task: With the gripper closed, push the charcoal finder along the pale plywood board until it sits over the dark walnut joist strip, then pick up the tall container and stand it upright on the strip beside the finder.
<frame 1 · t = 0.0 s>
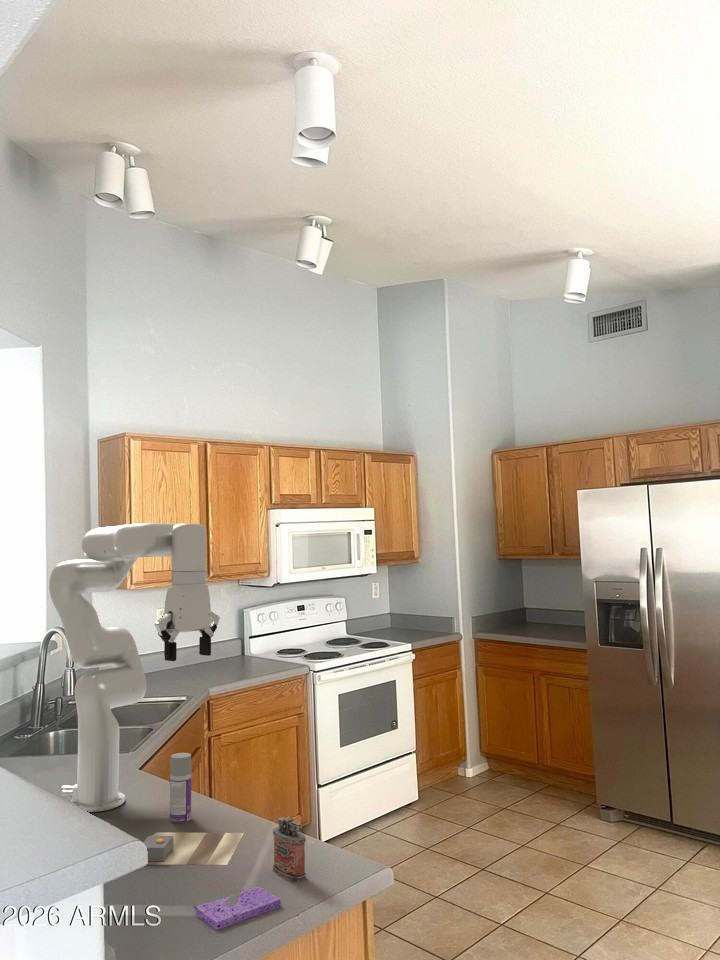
hand: (188, 657, 165), 37 cm above the worktop, tool pointing down, fingers open, 9 cm apart
lighter: (289, 875, 141), on the worktop
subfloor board: (189, 853, 151), on the worktop
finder: (156, 847, 147), point 3 cm above the worktop, slide at 0.0 cm
sponges: (239, 914, 127), on the worktop
container: (180, 825, 167), on the worktop
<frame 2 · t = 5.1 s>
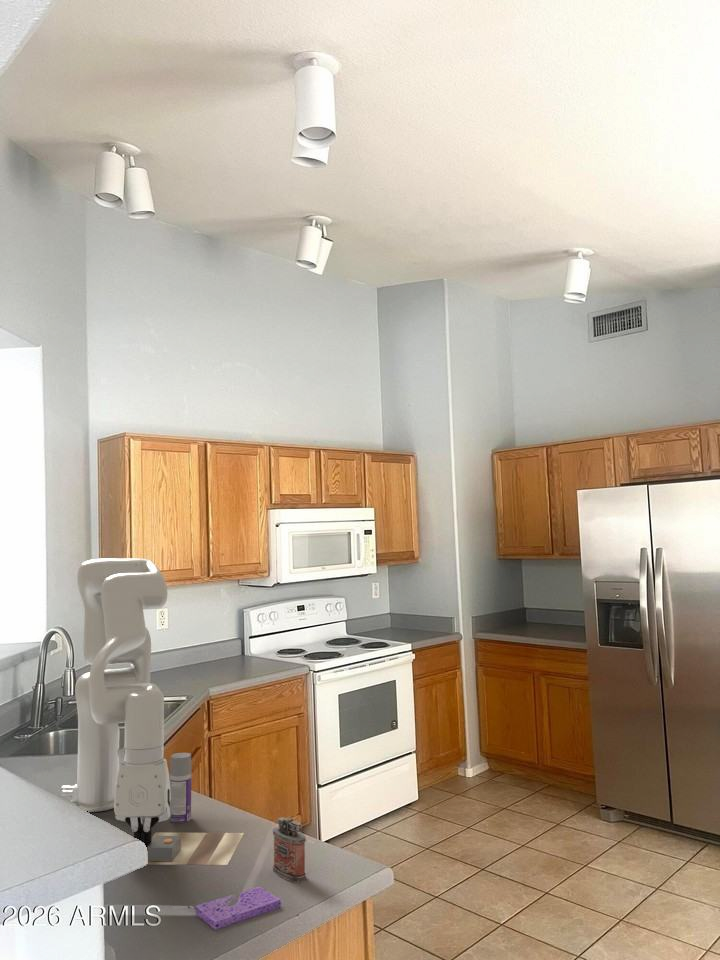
hand: (142, 850, 147), 2 cm above the worktop, tool pointing down, fingers closed
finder: (164, 847, 147), point 3 cm above the worktop, slide at 1.6 cm, touching gripper
everything else where it was.
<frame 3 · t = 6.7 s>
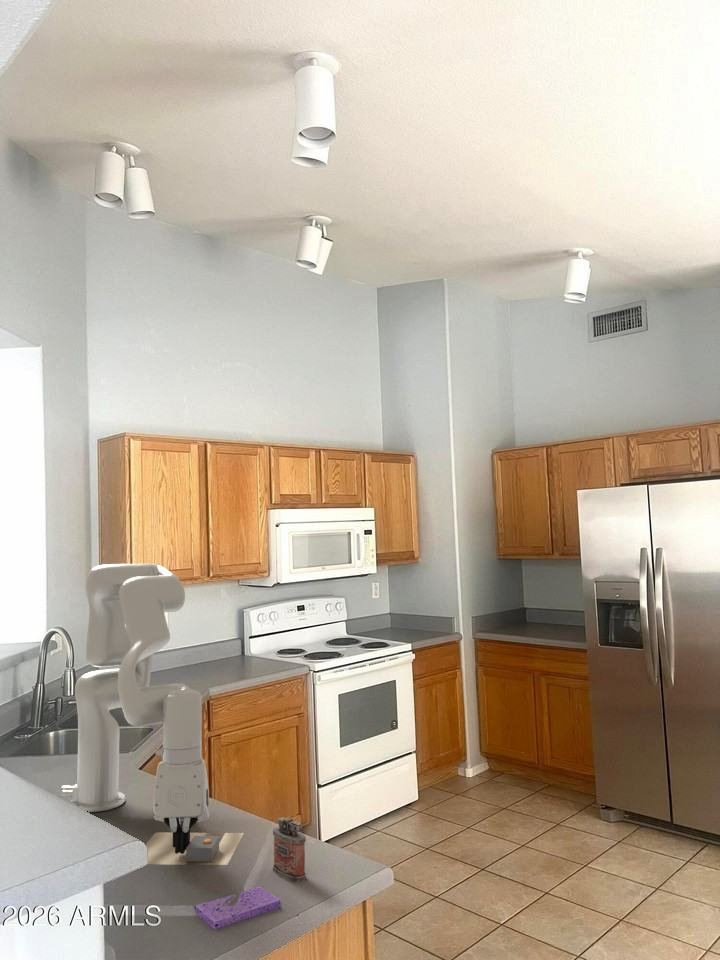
hand: (181, 850, 147), 2 cm above the worktop, tool pointing down, fingers closed
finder: (203, 847, 147), point 3 cm above the worktop, slide at 9.3 cm, touching gripper
everything else where it was.
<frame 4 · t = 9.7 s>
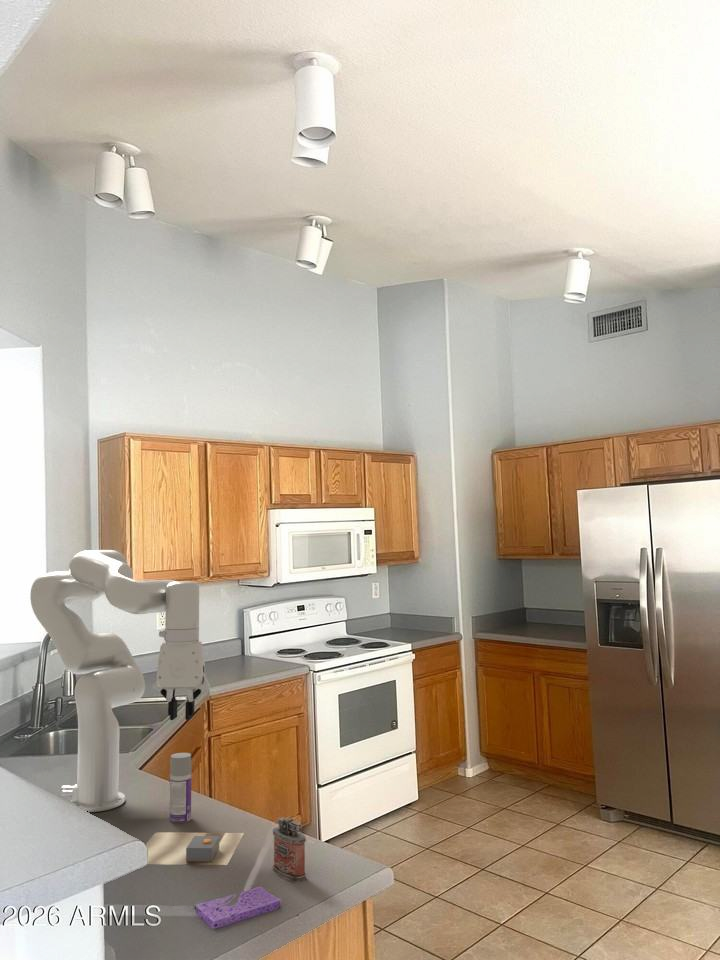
hand: (181, 718, 169), 23 cm above the worktop, tool pointing down, fingers closed
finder: (203, 847, 147), point 3 cm above the worktop, slide at 9.3 cm
everything else where it was.
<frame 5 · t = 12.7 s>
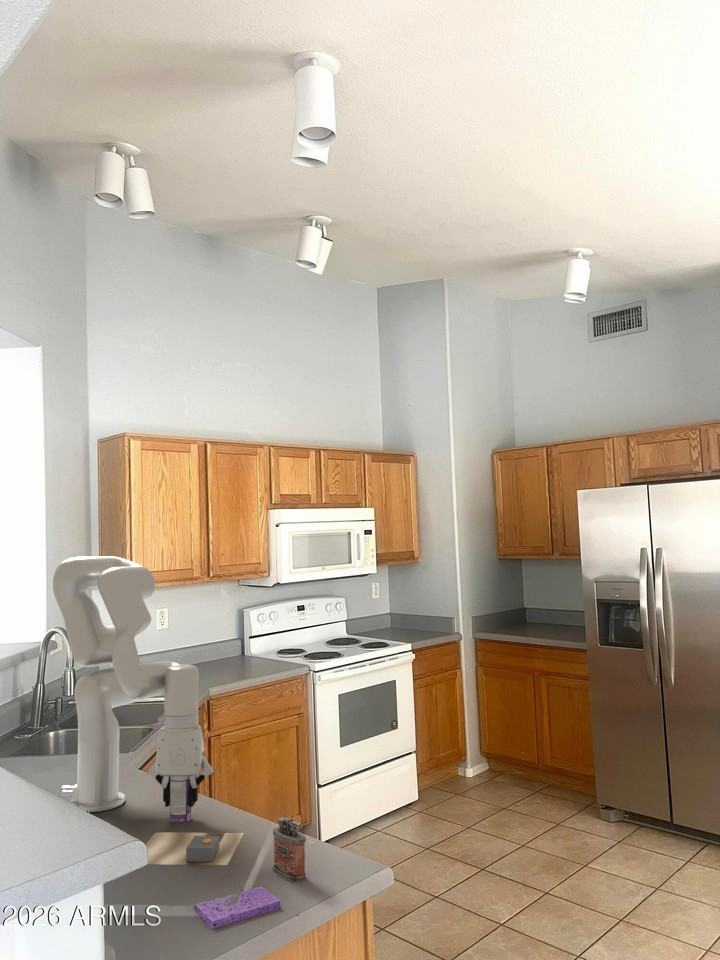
hand: (180, 804, 168), 4 cm above the worktop, tool pointing down, fingers closed on container, 4 cm apart
container: (180, 825, 167), on the worktop, touching gripper
everything else where it was.
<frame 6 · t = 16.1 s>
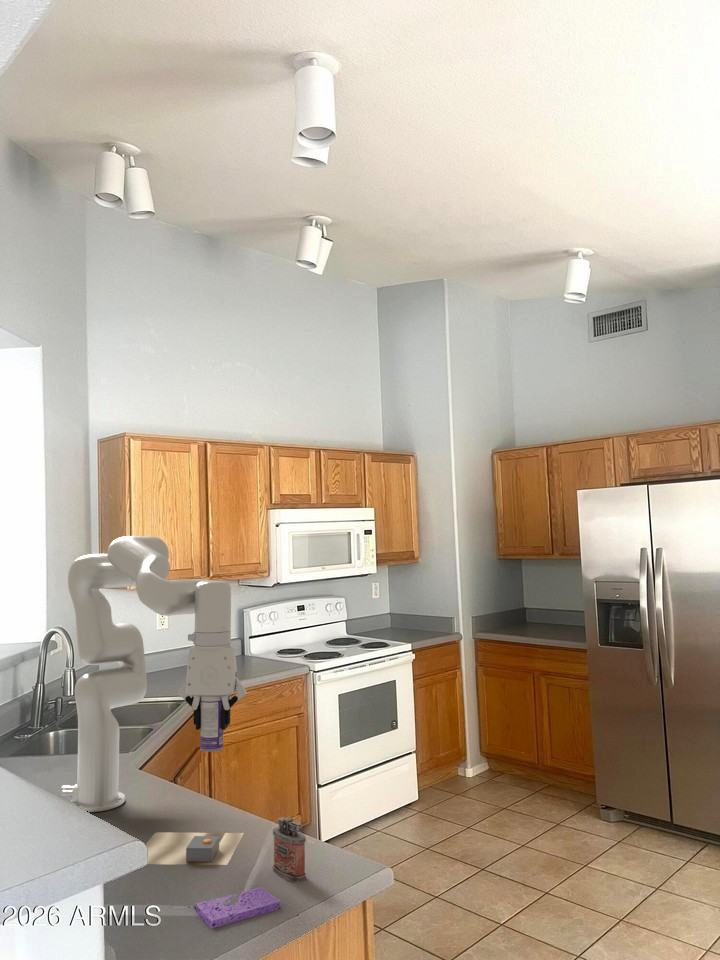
hand: (211, 727, 157), 24 cm above the worktop, tool pointing down, fingers closed on container, 4 cm apart
container: (211, 749, 157), point 19 cm above the worktop, touching gripper
everything else where it was.
when the fingers open (7 cm above the worktop, at t = 19.6 s): container drops 1 cm, resting on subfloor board.
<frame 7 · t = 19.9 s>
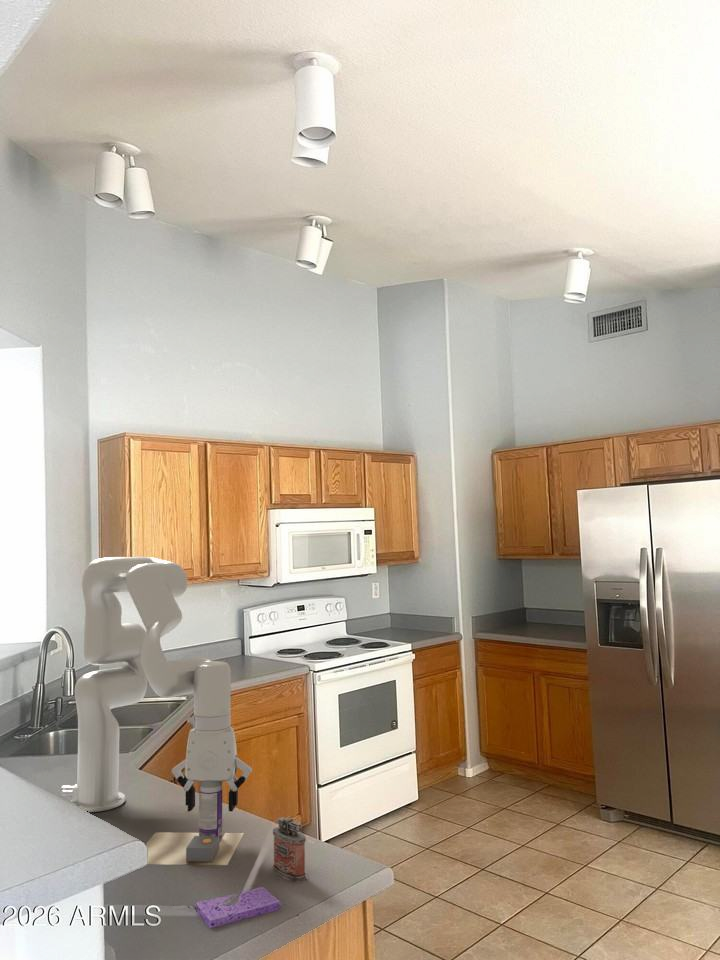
hand: (211, 808, 155), 7 cm above the worktop, tool pointing down, fingers open, 8 cm apart
container: (210, 840, 155), point 1 cm above the worktop, touching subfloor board
everything else where it was.
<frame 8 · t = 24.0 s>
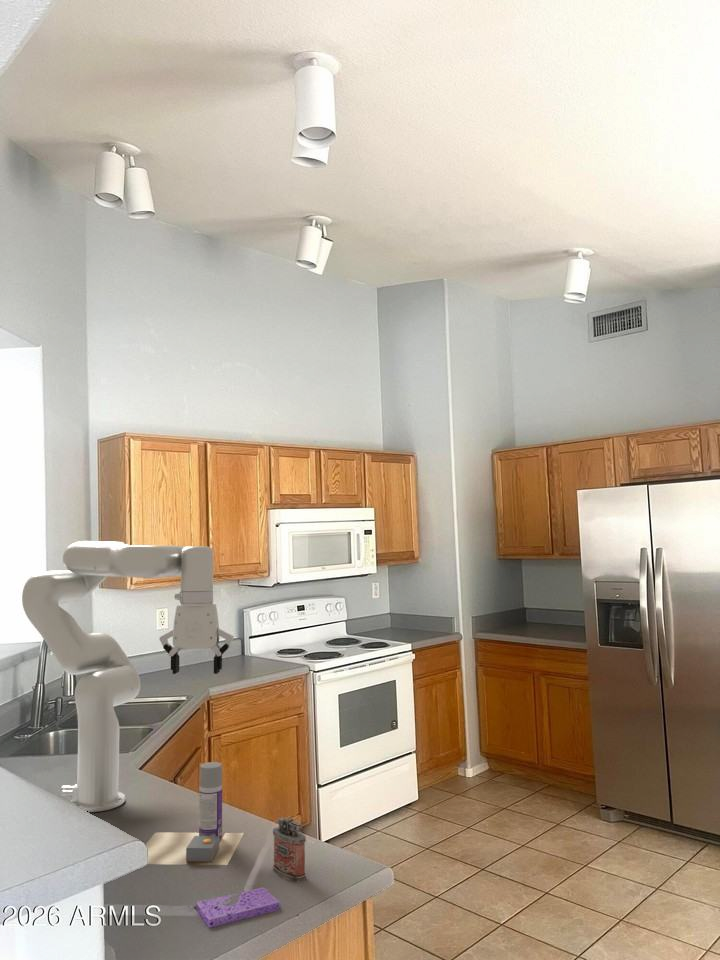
hand: (196, 672, 175), 32 cm above the worktop, tool pointing down, fingers open, 9 cm apart
nothing on the worktop moved.
at the end: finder slide at 9.3 cm; container 0.2 cm from the target spot, point 1.0 cm above the worktop; container tilted 0° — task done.
